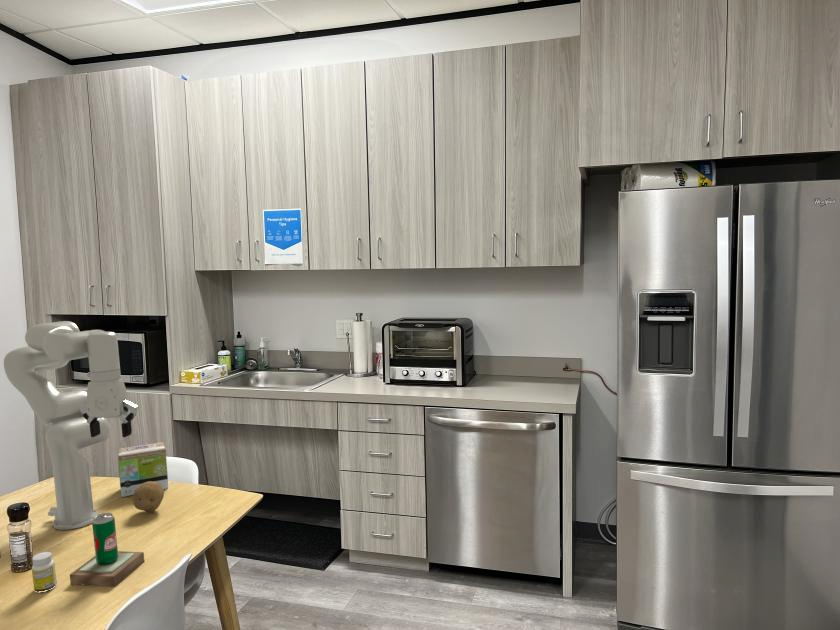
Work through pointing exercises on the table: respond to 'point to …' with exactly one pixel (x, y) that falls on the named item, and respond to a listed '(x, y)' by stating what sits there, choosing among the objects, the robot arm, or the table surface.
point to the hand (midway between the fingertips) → (111, 435)
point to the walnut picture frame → (107, 570)
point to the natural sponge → (148, 496)
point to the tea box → (142, 467)
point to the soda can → (105, 538)
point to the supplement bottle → (43, 572)
